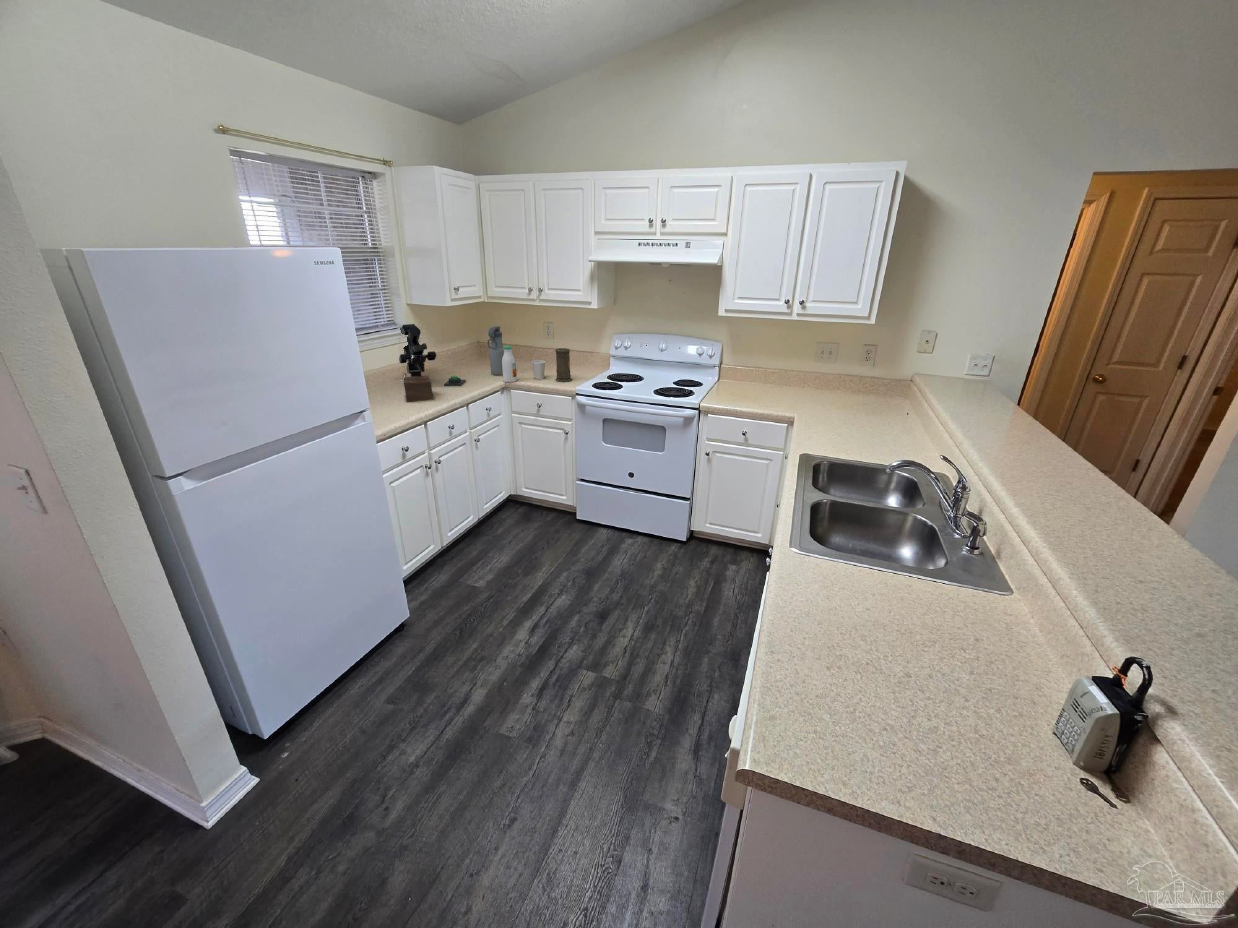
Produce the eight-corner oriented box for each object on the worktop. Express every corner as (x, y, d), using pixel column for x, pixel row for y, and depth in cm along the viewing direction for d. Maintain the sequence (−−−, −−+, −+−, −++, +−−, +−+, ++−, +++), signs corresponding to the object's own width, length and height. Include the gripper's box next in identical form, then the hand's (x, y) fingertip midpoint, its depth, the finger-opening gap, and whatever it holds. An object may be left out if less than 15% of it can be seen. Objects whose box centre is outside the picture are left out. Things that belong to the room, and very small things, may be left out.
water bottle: (501, 376, 307) (497, 328, 296) (487, 374, 310) (483, 327, 299) (510, 372, 316) (507, 326, 305) (497, 371, 319) (493, 325, 308)
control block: (449, 381, 295) (449, 376, 293) (465, 381, 295) (464, 376, 294) (444, 386, 284) (443, 380, 283) (460, 386, 285) (459, 381, 283)
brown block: (406, 395, 266) (403, 377, 263) (431, 393, 271) (429, 375, 267) (406, 402, 255) (403, 383, 251) (433, 399, 259) (430, 381, 255)
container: (559, 382, 293) (558, 351, 286) (553, 379, 300) (552, 348, 293) (573, 381, 297) (572, 350, 290) (568, 377, 304) (566, 347, 297)
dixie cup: (549, 378, 304) (548, 361, 300) (538, 380, 298) (537, 363, 294) (539, 375, 309) (539, 359, 305) (529, 378, 303) (528, 361, 299)
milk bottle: (509, 383, 291) (506, 348, 284) (500, 381, 296) (497, 346, 288) (519, 380, 297) (517, 346, 289) (510, 378, 301) (508, 344, 294)
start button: (452, 378, 290) (451, 375, 290) (458, 378, 290) (458, 375, 290) (450, 380, 287) (450, 377, 286) (456, 380, 287) (456, 377, 286)
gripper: (397, 339, 266) (406, 366, 264) (434, 336, 276) (442, 362, 274) (395, 349, 275) (403, 376, 273) (430, 346, 285) (438, 372, 283)
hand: (422, 371), depth 276 cm, fingers closed
